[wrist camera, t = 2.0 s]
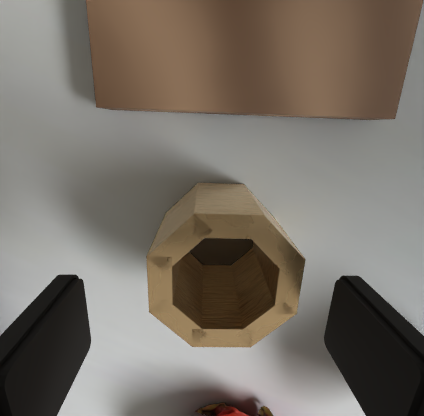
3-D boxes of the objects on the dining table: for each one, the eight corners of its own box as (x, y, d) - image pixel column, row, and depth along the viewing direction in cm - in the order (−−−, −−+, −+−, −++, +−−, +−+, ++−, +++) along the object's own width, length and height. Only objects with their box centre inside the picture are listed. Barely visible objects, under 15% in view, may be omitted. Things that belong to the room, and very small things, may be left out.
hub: (275, 184, 15) (313, 216, 10) (264, 279, 17) (291, 347, 12) (165, 181, 15) (143, 211, 10) (167, 278, 17) (150, 346, 12)
